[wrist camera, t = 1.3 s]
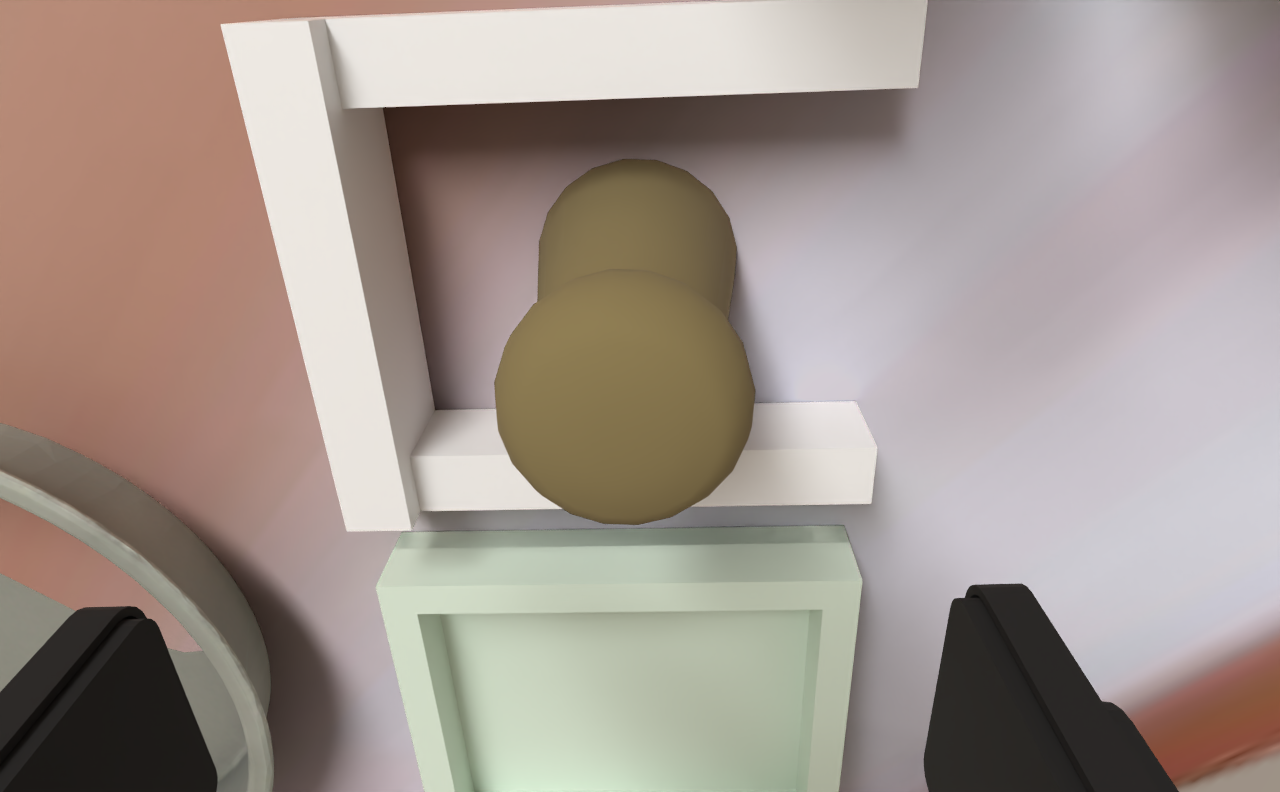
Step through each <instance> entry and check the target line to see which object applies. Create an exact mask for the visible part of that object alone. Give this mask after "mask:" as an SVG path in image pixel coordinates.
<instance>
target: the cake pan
mask: <svg viewBox="0 0 1280 792" xmlns="http://www.w3.org/2000/svg"><path fill="white" fill-rule="evenodd" d="M0 498H1V499H4V500H6V501H8V502H10V503H12V504H14V505H17V506H19V507H21V508H23V509H25V510H27V511H29V512H31V513H33V514H35V515H36V516H38V517H40V518H42V519H44V520H46V521H48V522H50V523H52V524H53V525H55V526H57V527H58V528H60V529H62V530H64V531H65V532H67V533H69V534H70V535H72V536H74V537H75V538H77V539H79V540H80V541H82V542H84V543H85V544H87V545H88V546H90V547H91V548H92V549H94V550H95V551H97V552H98V553H100V554H101V555H103V556H104V557H106V558H107V559H108V560H110V561H111V562H112V563H114V564H115V565H116V566H118V567H119V568H120V569H122V570H123V571H124V572H125V573H127V574H128V575H129V576H131V577H132V578H133V579H134V580H135V581H137V582H138V583H139V584H140V585H141V586H142V587H143V588H144V589H146V590H147V591H148V592H149V593H150V594H151V595H152V596H153V597H154V598H156V599H157V600H158V601H159V602H160V603H161V604H162V605H163V606H164V607H165V608H166V609H167V610H168V611H169V612H170V613H171V614H172V615H173V616H174V617H175V618H176V619H177V620H178V621H179V622H180V623H181V624H182V625H183V627H184V628H185V629H186V630H187V632H188V633H189V634H190V635H191V636H192V638H193V639H194V640H195V641H196V642H197V644H198V645H199V646H200V647H201V649H202V650H203V651H197V652H185V653H184V652H180V651H176V650H172V649H168V648H167V649H168V651H169V654H170V656H171V659H172V661H173V664H174V666H175V669H176V671H177V674H178V676H179V679H180V681H181V683H182V686H183V688H184V691H185V693H186V696H187V698H188V701H189V703H190V706H191V708H192V711H193V713H194V716H195V718H196V721H197V723H198V725H199V728H200V730H201V733H202V735H203V738H204V740H205V743H206V745H207V748H208V750H209V753H210V755H211V758H212V760H213V763H214V765H215V768H216V771H217V775H218V784H217V791H216V792H272V788H273V781H274V758H273V748H272V740H271V735H270V730H269V726H268V722H267V719H266V717H267V712H268V707H269V702H270V693H271V676H270V665H269V660H268V655H267V650H266V646H265V643H264V639H263V636H262V633H261V630H260V628H259V625H258V623H257V621H256V618H255V616H254V614H253V612H252V610H251V608H250V606H249V604H248V602H247V601H246V599H245V597H244V595H243V593H242V592H241V590H240V589H239V587H238V586H237V584H236V583H235V581H234V580H233V578H232V577H231V575H230V574H229V572H228V571H227V570H226V569H225V567H224V566H223V565H222V564H221V562H220V561H219V560H218V559H217V558H216V556H215V555H214V554H213V553H212V552H211V551H210V549H209V548H208V547H207V546H206V545H205V544H204V543H203V542H202V541H201V540H200V539H199V538H198V537H197V536H196V535H195V534H194V533H193V532H192V531H191V530H190V529H189V528H188V527H187V526H186V525H185V524H183V523H182V522H181V521H180V520H179V519H178V518H177V517H176V516H174V515H173V514H172V513H171V512H170V511H168V510H167V509H166V508H165V507H164V506H162V505H161V504H160V503H158V502H157V501H156V500H154V499H153V498H152V497H151V496H149V495H148V494H146V493H145V492H143V491H142V490H140V489H139V488H138V487H136V486H135V485H133V484H132V483H130V482H129V481H127V480H126V479H124V478H123V477H121V476H119V475H118V474H116V473H114V472H112V471H111V470H109V469H107V468H105V467H104V466H102V465H100V464H99V463H97V462H95V461H93V460H91V459H89V458H87V457H85V456H83V455H81V454H79V453H77V452H75V451H73V450H71V449H69V448H66V447H64V446H62V445H60V444H58V443H56V442H53V441H51V440H49V439H47V438H44V437H41V436H38V435H36V434H33V433H30V432H27V431H24V430H21V429H18V428H15V427H12V426H9V425H6V424H2V423H0ZM74 612H76V611H74V610H72V609H70V608H68V607H66V606H64V605H62V604H60V603H58V602H56V601H54V600H52V599H50V598H48V597H46V596H45V595H42V594H40V593H39V592H37V591H34V590H33V589H31V588H28V587H27V586H25V585H23V584H21V583H18V582H16V581H14V580H12V579H11V578H9V577H7V576H5V575H3V574H0V692H1V691H2V689H3V688H4V687H5V686H6V685H7V684H8V683H9V682H10V681H11V680H12V679H13V677H14V676H15V675H16V674H17V673H18V672H19V671H20V670H21V669H22V668H23V667H24V665H25V664H26V663H27V662H28V661H29V660H30V659H31V658H32V657H33V656H34V655H35V653H36V652H37V651H38V650H39V649H40V648H41V647H42V646H43V645H44V644H45V643H46V641H47V640H48V639H49V638H50V637H51V636H52V635H53V634H54V633H55V632H56V631H57V629H58V628H59V627H60V626H61V625H62V624H63V623H64V622H65V621H66V620H67V619H68V617H70V616H71V615H72V614H73V613H74Z"/></svg>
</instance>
